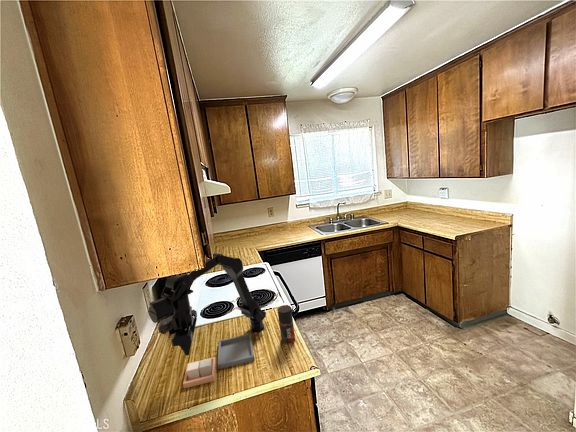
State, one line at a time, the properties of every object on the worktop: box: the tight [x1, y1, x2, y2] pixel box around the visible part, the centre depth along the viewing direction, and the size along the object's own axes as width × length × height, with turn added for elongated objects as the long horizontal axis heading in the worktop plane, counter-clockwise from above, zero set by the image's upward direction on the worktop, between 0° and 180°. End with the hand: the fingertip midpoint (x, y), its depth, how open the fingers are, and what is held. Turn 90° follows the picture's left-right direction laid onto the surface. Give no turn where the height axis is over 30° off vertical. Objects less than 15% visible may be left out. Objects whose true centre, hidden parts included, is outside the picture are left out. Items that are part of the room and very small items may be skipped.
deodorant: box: [277, 304, 296, 345], centre depth 116 cm, size 6×6×15 cm
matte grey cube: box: [199, 357, 213, 377], centre depth 103 cm, size 4×4×4 cm
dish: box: [182, 356, 217, 389], centre depth 103 cm, size 11×11×2 cm
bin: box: [217, 332, 255, 370], centre depth 113 cm, size 16×14×2 cm
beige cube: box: [186, 360, 200, 380], centre depth 102 cm, size 4×4×4 cm
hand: (189, 347), depth 100 cm, fingers open, 9 cm apart
